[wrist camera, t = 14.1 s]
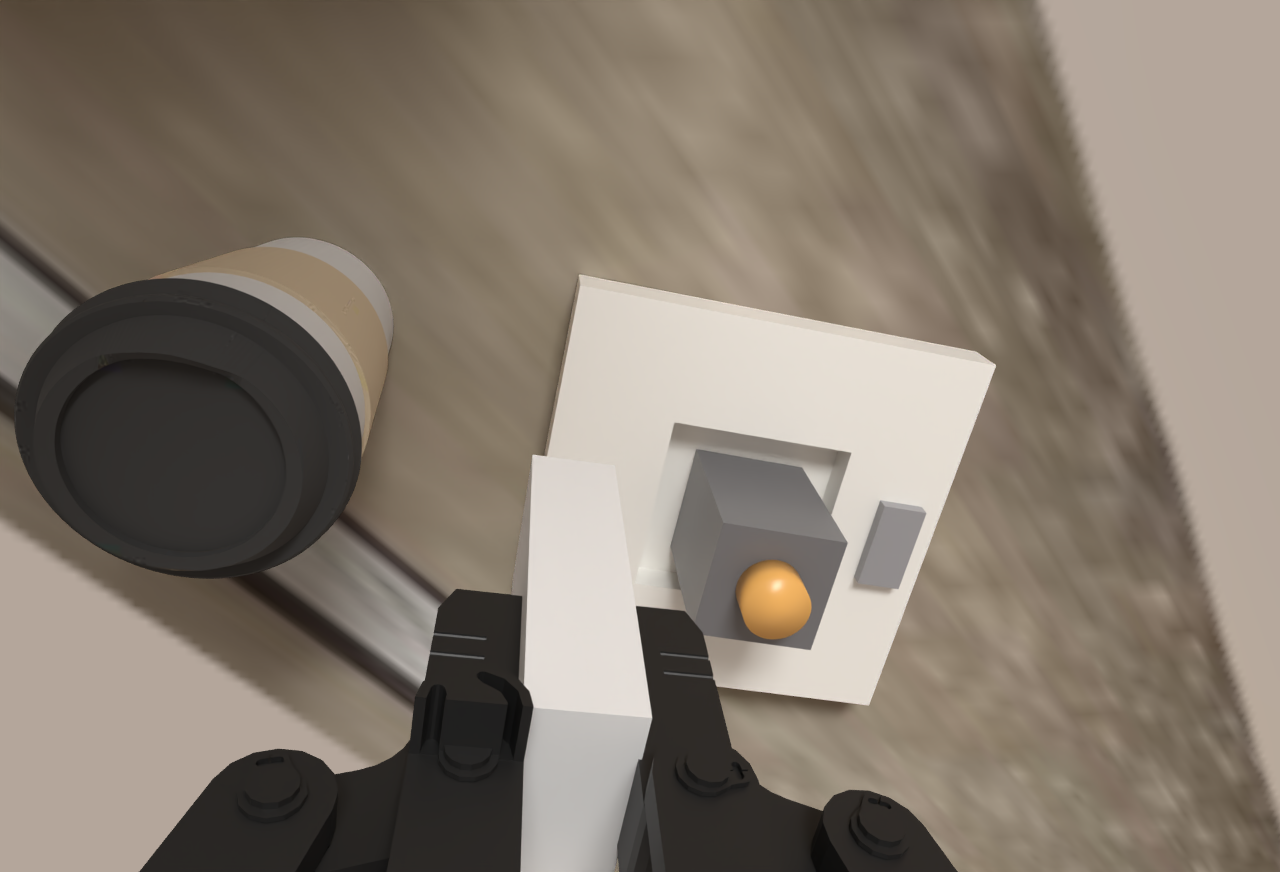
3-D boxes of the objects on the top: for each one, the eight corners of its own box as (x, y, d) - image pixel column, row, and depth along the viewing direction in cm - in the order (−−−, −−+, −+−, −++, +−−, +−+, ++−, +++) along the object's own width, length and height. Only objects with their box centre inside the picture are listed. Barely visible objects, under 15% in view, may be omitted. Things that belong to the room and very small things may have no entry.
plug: (696, 449, 41) (730, 542, 33) (802, 467, 41) (860, 562, 34) (670, 546, 42) (696, 656, 35) (772, 562, 43) (820, 673, 35)
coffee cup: (409, 435, 40) (332, 635, 26) (191, 405, 38) (-12, 599, 25) (430, 229, 37) (355, 332, 23) (193, 188, 35) (-40, 272, 21)
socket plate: (578, 274, 38) (580, 288, 35) (976, 351, 41) (1002, 369, 38) (509, 635, 44) (506, 668, 42) (856, 680, 47) (872, 713, 45)
